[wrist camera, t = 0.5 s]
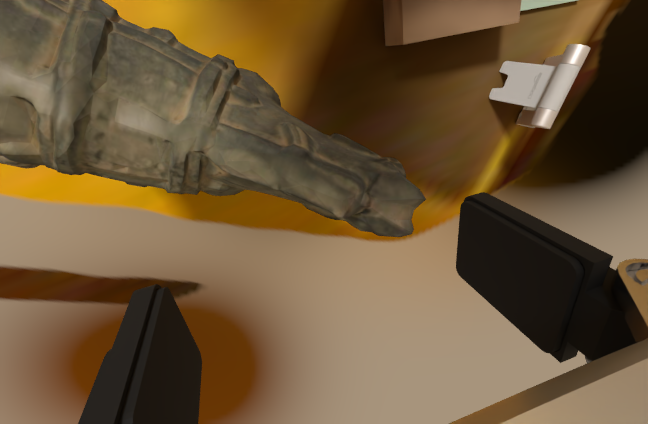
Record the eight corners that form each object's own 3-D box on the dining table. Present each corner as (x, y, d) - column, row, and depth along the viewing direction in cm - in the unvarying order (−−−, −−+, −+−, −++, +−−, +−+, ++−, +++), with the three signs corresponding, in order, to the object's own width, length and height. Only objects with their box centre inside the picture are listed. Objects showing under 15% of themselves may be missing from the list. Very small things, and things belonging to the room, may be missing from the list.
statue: (335, 117, 37) (498, 197, 15) (298, 194, 40) (390, 353, 18) (86, -15, 26) (-570, -384, 4) (58, 103, 29) (-427, 229, 7)
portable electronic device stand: (521, 125, 45) (578, 137, 38) (481, 113, 42) (534, 124, 35) (551, 62, 42) (620, 62, 35) (510, 44, 39) (575, 40, 32)
